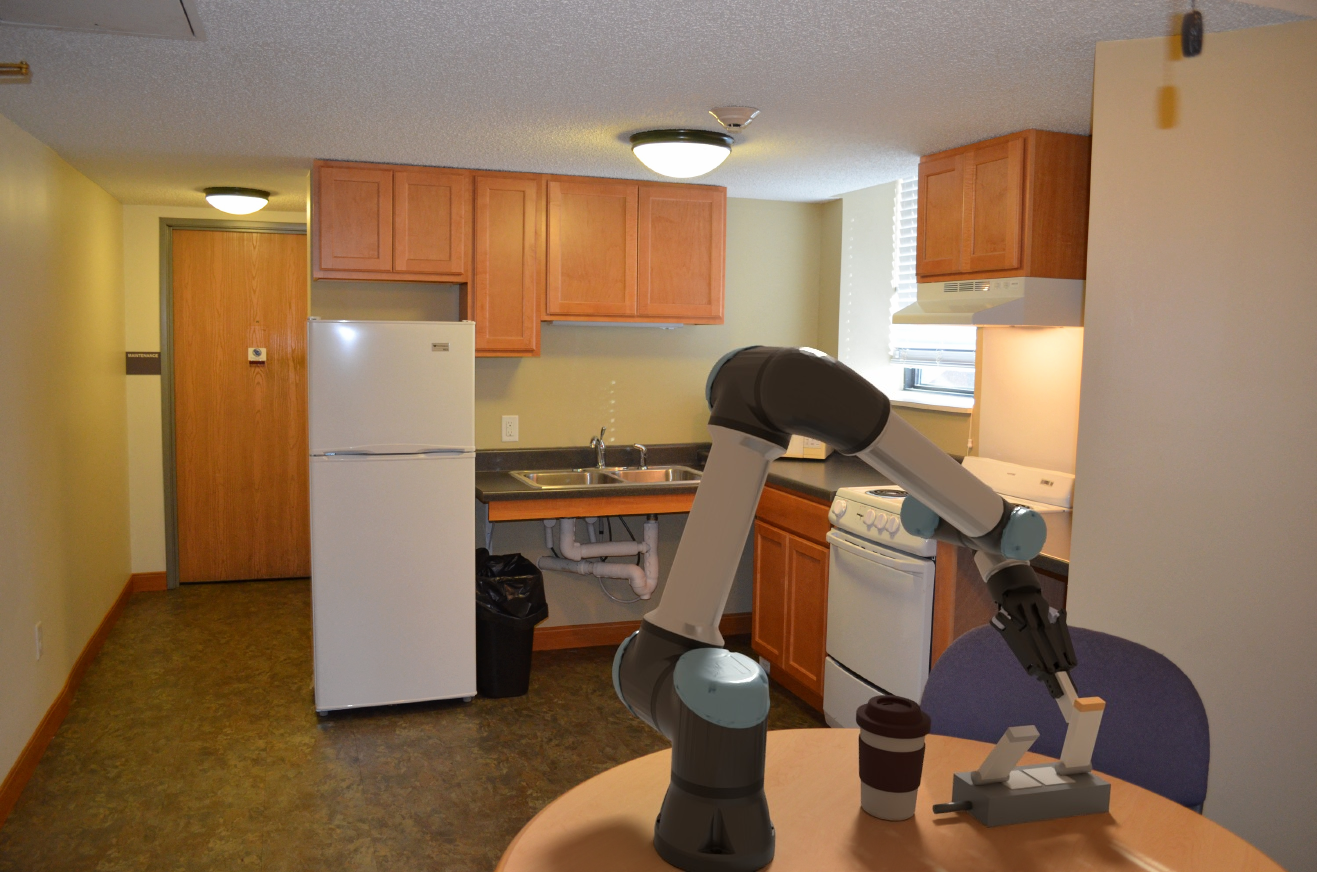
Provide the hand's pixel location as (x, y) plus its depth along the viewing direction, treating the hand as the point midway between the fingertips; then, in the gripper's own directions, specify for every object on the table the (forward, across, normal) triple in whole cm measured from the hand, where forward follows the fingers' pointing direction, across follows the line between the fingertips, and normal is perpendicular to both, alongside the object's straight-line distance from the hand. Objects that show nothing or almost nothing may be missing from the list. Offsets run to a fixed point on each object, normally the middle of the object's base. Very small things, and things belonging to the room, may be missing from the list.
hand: (1076, 718), depth 137 cm
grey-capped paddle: (+5, -14, +5) cm, 16 cm away
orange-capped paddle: (+5, 0, +5) cm, 7 cm away
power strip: (+9, -10, +8) cm, 15 cm away
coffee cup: (+6, -28, +11) cm, 30 cm away
